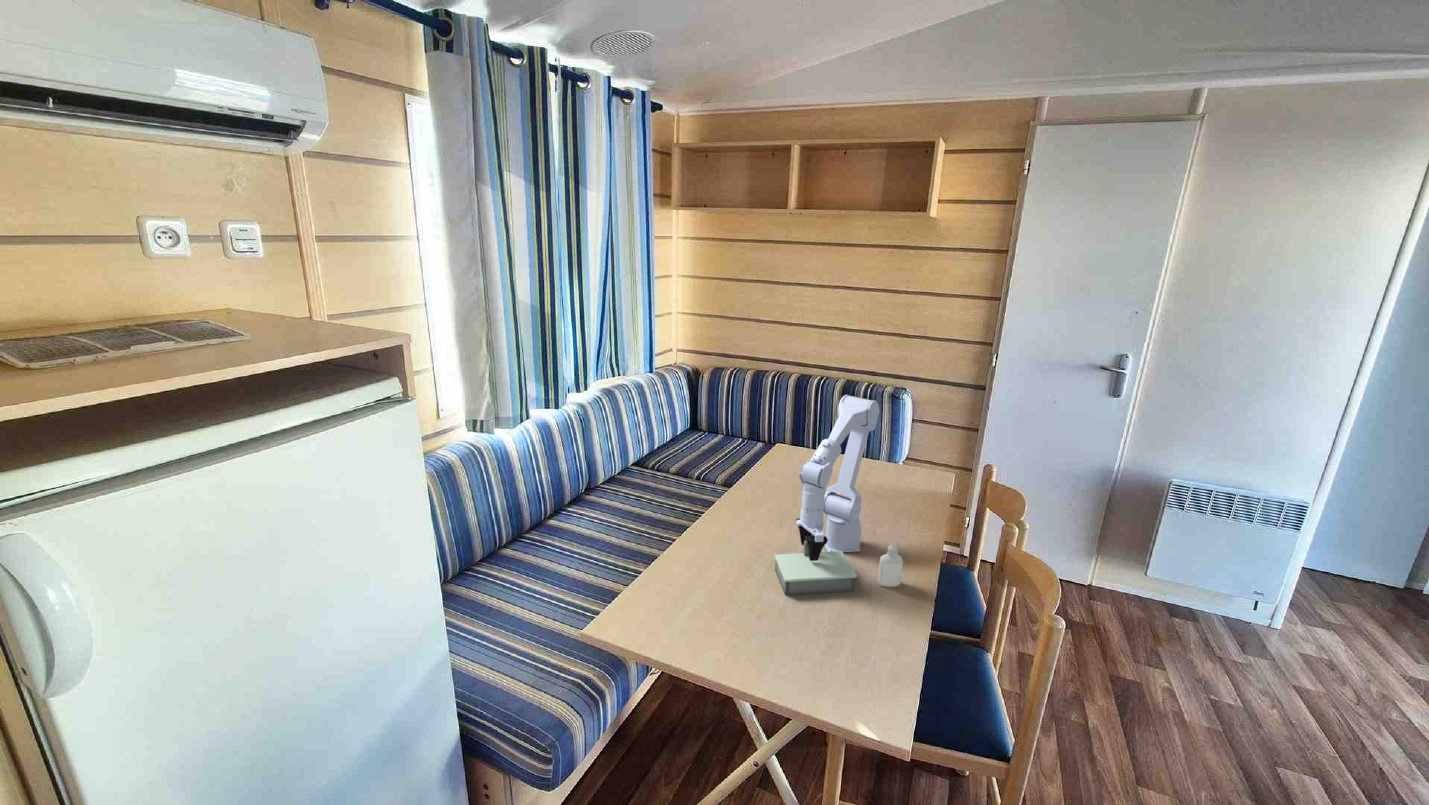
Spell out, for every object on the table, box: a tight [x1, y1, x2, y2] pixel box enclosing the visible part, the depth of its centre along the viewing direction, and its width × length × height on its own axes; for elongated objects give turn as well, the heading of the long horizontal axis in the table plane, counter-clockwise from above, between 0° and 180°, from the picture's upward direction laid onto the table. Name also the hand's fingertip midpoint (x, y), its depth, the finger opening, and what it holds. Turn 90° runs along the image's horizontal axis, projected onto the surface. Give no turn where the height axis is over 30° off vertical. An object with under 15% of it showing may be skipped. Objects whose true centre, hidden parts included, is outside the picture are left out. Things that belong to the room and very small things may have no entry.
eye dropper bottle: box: [877, 541, 904, 588], centre depth 147 cm, size 4×6×12 cm
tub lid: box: [774, 540, 858, 582], centre depth 148 cm, size 19×12×5 cm, turn 97°
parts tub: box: [774, 561, 856, 596], centre depth 149 cm, size 18×11×4 cm, turn 97°
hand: (809, 552), depth 153 cm, fingers open, 7 cm apart
